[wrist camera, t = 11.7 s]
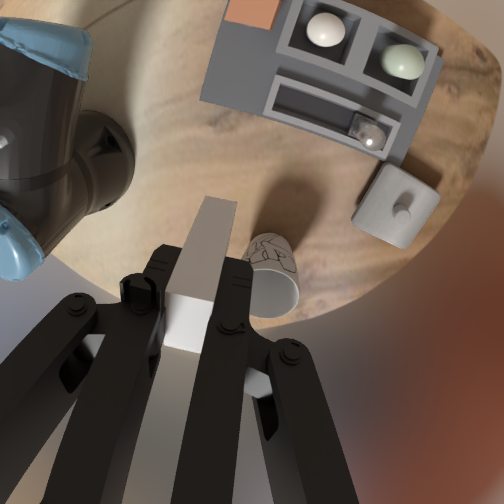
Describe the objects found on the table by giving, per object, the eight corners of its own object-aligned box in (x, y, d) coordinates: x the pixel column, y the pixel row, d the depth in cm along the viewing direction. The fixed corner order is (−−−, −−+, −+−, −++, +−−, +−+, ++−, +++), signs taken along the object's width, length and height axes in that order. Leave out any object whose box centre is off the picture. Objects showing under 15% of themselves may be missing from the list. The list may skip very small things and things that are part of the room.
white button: (301, 41, 28) (303, 38, 25) (310, 13, 26) (314, 8, 23) (332, 52, 29) (338, 51, 25) (342, 24, 27) (349, 20, 23)
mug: (268, 292, 52) (263, 339, 44) (222, 269, 50) (209, 314, 42) (309, 243, 46) (313, 288, 38) (259, 214, 44) (253, 256, 36)
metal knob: (345, 132, 35) (356, 146, 29) (354, 111, 33) (366, 121, 28) (366, 140, 35) (380, 156, 30) (375, 120, 33) (390, 132, 28)
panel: (202, 98, 35) (190, 105, 31) (237, -19, 26) (229, -30, 22) (395, 164, 38) (409, 179, 33) (439, 59, 28) (459, 61, 24)
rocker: (228, 22, 27) (223, 20, 26) (238, -8, 25) (233, -10, 24) (272, 32, 27) (269, 30, 26) (282, 1, 24) (279, -2, 23)
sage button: (374, 67, 27) (385, 69, 24) (385, 39, 25) (397, 37, 22) (403, 81, 27) (417, 85, 24) (414, 54, 25) (429, 55, 22)
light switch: (381, 154, 37) (392, 167, 33) (435, 187, 39) (450, 203, 34) (346, 214, 43) (352, 233, 39) (400, 240, 44) (410, 260, 40)
